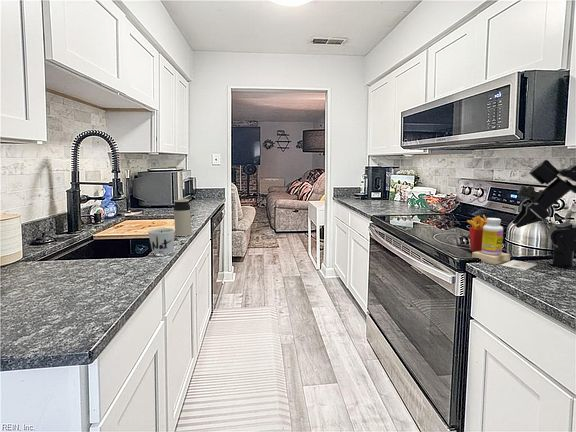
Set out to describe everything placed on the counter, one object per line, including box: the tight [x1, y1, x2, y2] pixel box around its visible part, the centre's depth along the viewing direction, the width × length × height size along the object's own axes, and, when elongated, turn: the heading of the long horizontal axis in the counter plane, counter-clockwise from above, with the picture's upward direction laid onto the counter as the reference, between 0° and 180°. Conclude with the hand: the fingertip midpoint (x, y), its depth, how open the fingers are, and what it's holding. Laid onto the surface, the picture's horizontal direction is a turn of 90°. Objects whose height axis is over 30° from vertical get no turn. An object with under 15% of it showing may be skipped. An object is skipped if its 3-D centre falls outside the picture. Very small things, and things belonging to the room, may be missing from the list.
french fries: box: [466, 214, 487, 252], centre depth 159 cm, size 9×8×15 cm
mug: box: [147, 228, 175, 253], centre depth 166 cm, size 10×15×10 cm
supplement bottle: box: [482, 217, 504, 255], centre depth 147 cm, size 7×7×13 cm
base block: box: [471, 251, 511, 265], centre depth 148 cm, size 9×9×2 cm
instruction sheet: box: [501, 259, 538, 271], centre depth 141 cm, size 10×8×1 cm
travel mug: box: [173, 198, 192, 236], centre depth 202 cm, size 8×8×18 cm
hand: (514, 225), depth 144 cm, fingers open, 9 cm apart
